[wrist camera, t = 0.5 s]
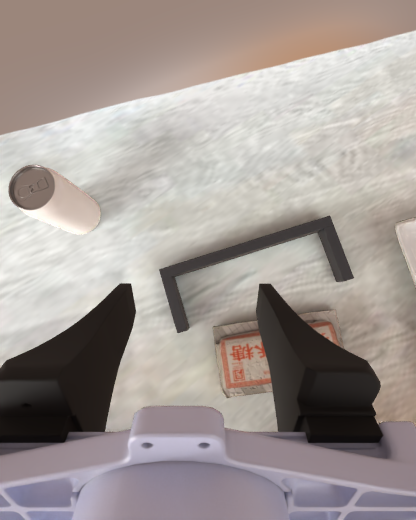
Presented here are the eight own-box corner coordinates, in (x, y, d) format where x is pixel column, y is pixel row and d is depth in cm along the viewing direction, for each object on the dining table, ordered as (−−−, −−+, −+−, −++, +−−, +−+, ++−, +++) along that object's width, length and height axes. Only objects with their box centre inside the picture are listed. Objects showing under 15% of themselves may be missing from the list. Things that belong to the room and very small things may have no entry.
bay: (346, 279, 41) (354, 278, 39) (180, 330, 41) (177, 333, 39) (323, 220, 42) (330, 215, 40) (162, 270, 43) (159, 269, 40)
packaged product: (222, 409, 35) (211, 330, 36) (222, 395, 40) (212, 325, 41) (364, 390, 34) (347, 310, 36) (347, 378, 39) (333, 308, 41)
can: (57, 206, 45) (-3, 175, 33) (93, 189, 45) (46, 152, 33) (71, 242, 44) (15, 223, 32) (108, 224, 44) (66, 199, 32)
